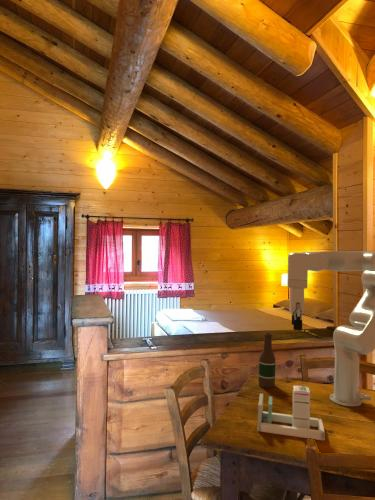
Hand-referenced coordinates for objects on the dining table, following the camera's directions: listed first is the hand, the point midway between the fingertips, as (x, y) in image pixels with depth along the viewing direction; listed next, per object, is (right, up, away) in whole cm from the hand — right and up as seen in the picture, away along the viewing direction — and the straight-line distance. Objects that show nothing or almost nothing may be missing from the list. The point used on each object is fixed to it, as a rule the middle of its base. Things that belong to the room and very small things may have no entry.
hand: (296, 327), depth 151 cm
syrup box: (-4, -33, -17) cm, 37 cm away
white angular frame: (-7, -32, -16) cm, 37 cm away
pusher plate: (-15, -32, -14) cm, 38 cm away
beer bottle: (-7, -32, +26) cm, 42 cm away
